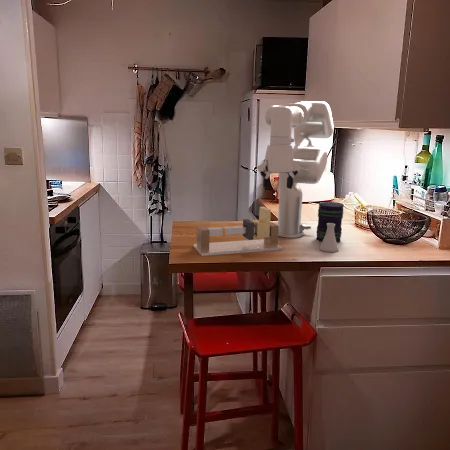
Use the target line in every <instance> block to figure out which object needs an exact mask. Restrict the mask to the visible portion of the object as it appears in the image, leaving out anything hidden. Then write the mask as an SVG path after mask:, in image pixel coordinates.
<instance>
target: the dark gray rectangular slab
mask: <svg viewBox="0 0 450 450" xmlns="http://www.w3.org/2000/svg"><path fill="white" fill-rule="evenodd" d="M242 226H247V234H242V237H244V238H245V240H255V239H254V222H252V220H250V219H249V218H244V219H242Z"/></svg>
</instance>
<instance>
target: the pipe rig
mask: <svg viewBox="0 0 450 450" xmlns="http://www.w3.org/2000/svg"><path fill="white" fill-rule="evenodd" d="M278 230H279V226H278V224H276V223H275V222H273V221H272V222H271V221H270V235H269V237H268V238H258V239H254V240H248V239H245V240H233V241H230V240H229V241H217V242H210V237H212V236H213V237H214V236H226V235H227V236H230V235H241V234H242V235H243V234H247V226H243V225H235V226H218V227H216V226H215V227H207V226H206V225H201V226H200V225H197V226H196V243H194V244H193V248H194V249H195V250H196V251H197V252H198V253H199V255H201V257H208V256H219V255H231V254H246V253H258V252H260V253H261V252H272V251H282V250H283V246H282V245H279V244H278V243H279V236H278ZM254 233H256V225H254Z"/></svg>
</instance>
